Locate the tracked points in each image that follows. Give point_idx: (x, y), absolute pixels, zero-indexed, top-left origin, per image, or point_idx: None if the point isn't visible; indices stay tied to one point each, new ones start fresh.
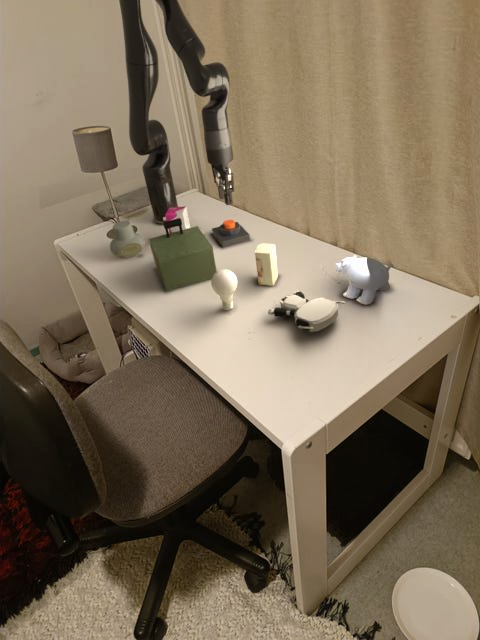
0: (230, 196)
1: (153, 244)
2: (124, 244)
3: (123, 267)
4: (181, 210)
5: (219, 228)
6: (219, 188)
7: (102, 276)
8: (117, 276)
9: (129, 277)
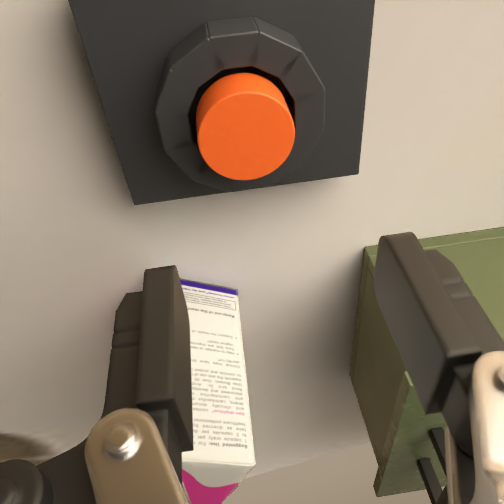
0: (483, 326)
1: (441, 484)
2: (234, 488)
3: (275, 433)
4: (205, 470)
5: (238, 190)
6: (189, 435)
7: (296, 459)
8: (320, 438)
9: (346, 419)
